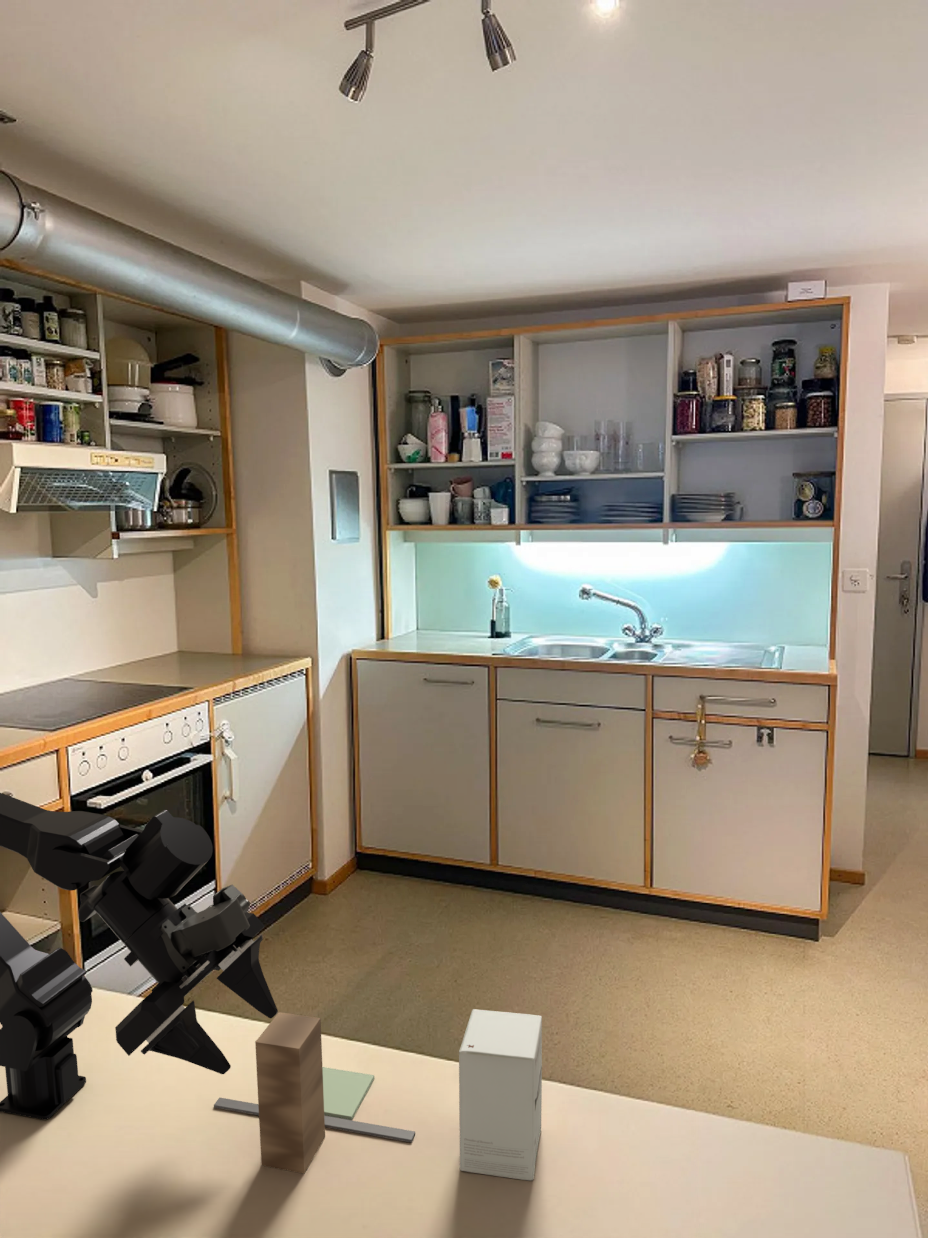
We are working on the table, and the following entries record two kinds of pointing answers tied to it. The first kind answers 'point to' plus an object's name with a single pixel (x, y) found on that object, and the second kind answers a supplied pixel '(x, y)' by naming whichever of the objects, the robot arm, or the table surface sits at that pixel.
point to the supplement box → (500, 1094)
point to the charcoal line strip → (327, 1121)
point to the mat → (344, 1092)
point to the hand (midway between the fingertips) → (252, 1042)
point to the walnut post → (290, 1092)
